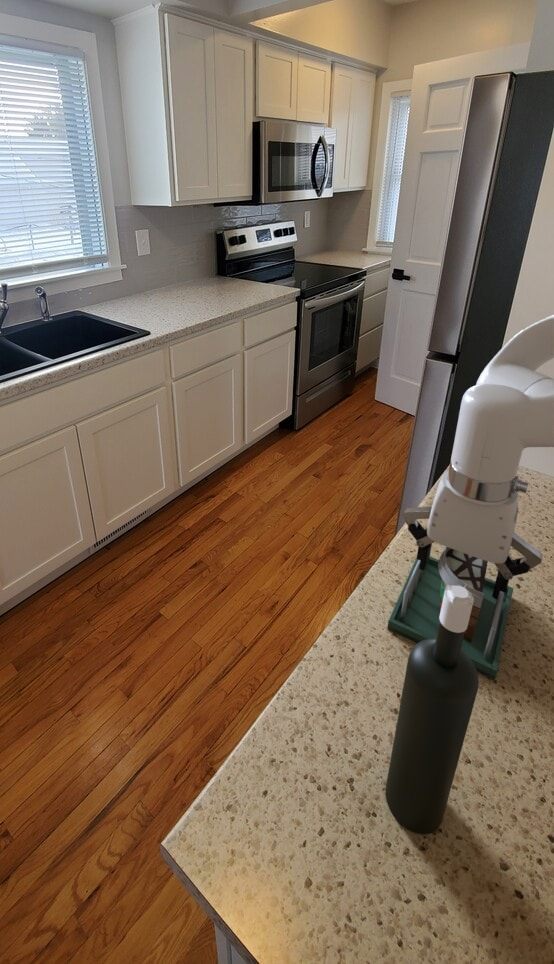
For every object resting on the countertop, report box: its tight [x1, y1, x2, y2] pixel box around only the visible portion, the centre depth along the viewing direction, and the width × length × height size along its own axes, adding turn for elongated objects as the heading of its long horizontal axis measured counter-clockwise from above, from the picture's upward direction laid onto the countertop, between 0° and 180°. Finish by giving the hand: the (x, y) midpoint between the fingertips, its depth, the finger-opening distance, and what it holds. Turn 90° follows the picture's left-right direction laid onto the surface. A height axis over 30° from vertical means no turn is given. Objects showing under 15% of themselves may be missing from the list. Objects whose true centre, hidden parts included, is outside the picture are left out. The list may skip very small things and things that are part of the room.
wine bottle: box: [384, 584, 480, 835], centre depth 45 cm, size 6×6×30 cm
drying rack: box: [386, 556, 514, 681], centre depth 71 cm, size 14×16×7 cm
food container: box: [438, 546, 489, 642], centre depth 70 cm, size 12×6×10 cm, turn 148°
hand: (458, 577), depth 69 cm, fingers open, 9 cm apart
